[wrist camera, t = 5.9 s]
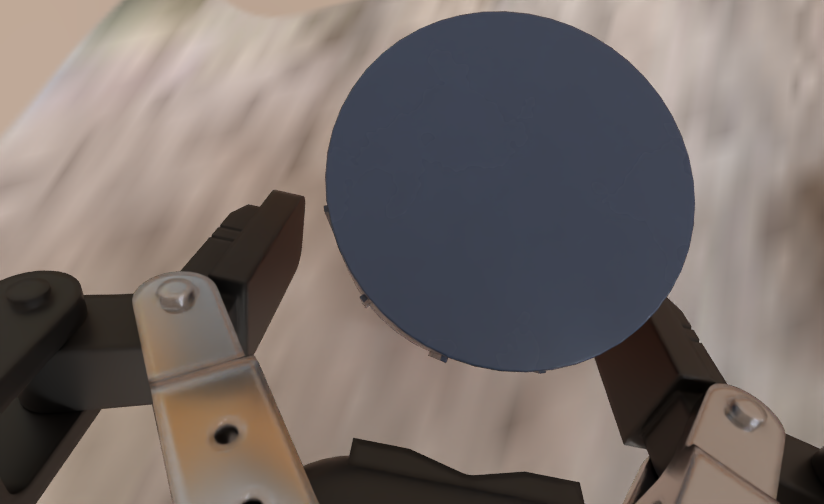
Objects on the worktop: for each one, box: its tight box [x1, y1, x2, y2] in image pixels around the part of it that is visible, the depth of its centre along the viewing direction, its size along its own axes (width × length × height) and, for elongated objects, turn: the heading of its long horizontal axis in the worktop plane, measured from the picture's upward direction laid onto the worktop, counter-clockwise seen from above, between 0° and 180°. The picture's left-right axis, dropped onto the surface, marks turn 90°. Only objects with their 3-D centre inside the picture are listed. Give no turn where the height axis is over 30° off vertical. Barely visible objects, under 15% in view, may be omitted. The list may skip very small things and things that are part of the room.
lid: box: [324, 11, 695, 374], centre depth 8 cm, size 6×6×2 cm
